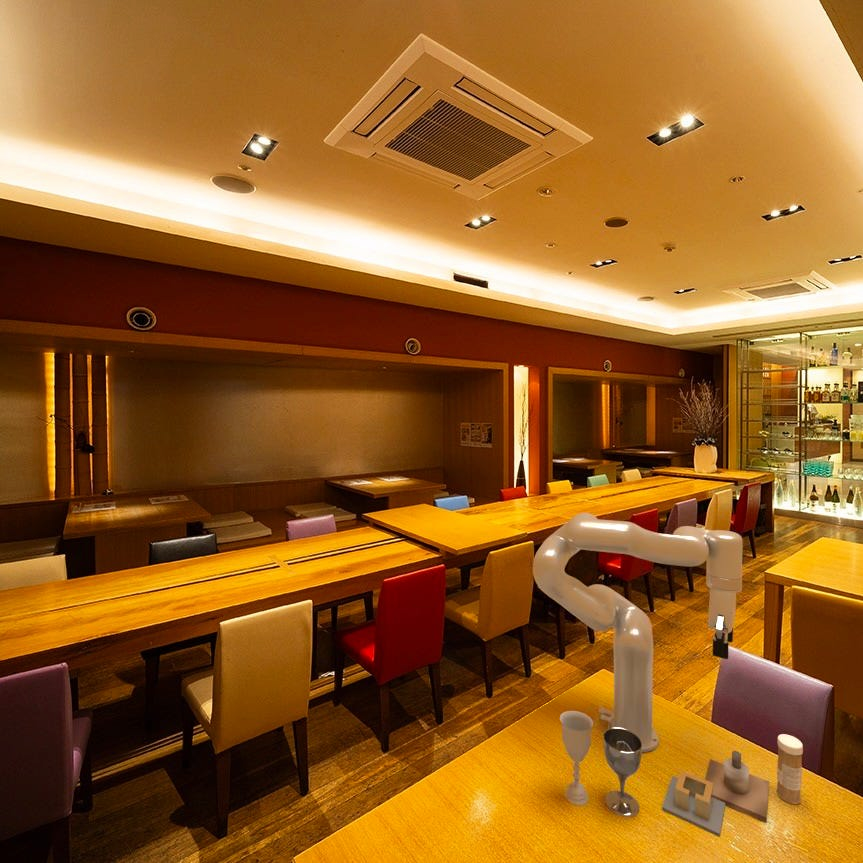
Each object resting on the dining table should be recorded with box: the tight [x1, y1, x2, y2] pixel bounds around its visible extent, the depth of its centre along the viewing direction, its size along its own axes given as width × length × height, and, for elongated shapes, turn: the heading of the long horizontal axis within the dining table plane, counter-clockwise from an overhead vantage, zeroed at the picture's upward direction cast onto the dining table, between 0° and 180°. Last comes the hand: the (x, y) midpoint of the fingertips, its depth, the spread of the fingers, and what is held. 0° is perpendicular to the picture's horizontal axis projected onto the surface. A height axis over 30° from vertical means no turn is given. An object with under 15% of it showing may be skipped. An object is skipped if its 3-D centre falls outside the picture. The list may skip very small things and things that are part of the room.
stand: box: [704, 750, 770, 824], centre depth 109 cm, size 12×12×9 cm
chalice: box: [559, 710, 594, 806], centre depth 108 cm, size 7×7×18 cm
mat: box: [661, 775, 726, 837], centre depth 106 cm, size 11×11×1 cm
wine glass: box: [602, 728, 643, 818], centre depth 106 cm, size 8×8×15 cm
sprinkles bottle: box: [776, 733, 804, 805], centre depth 107 cm, size 5×5×14 cm
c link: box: [675, 769, 713, 821], centre depth 106 cm, size 7×7×4 cm
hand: (722, 648), depth 118 cm, fingers open, 9 cm apart
